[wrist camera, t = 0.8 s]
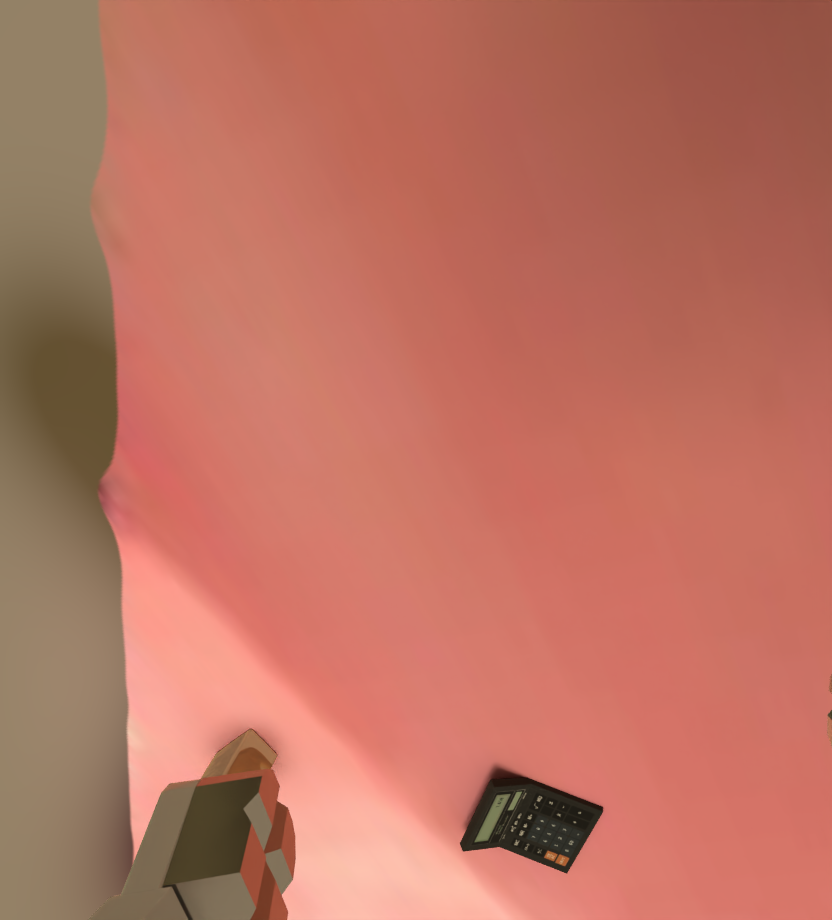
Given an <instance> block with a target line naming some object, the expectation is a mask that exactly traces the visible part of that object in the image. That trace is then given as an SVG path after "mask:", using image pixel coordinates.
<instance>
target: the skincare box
mask: <svg viewBox="0 0 832 920" xmlns="http://www.w3.org/2000/svg"><path fill="white" fill-rule="evenodd" d="M276 757H277V754H276V753H275V752H274V751H273V750H272V749H271V748H270V747H269V746H268V745H267V744H266V743H265V742H264V741H263V740H262V739H261V738H260V737H259V736H258V735H257V734H256V733H255V732H254V731H253V730H252V729H250V730H248V731H247V732H245V733H244V734H242V735H241V736H239V737H238V738H236V739H235V740H234V741H232V742H231V743H229V744H228V745H227V746H225V747H224V748H223V749H222V750H220V751H219V752H218V753H216V755H215V756H214V758H213V760H212V761H211V763H210V764H209V766H208V768H207V769H206V771H205V773H204V774H203V776H202V777H201V779H202V778H207V777H214V776H220V775H227V774H234V773H241V772H248V771H254V770H261V769H271V767H272V765H273V763H274V761H275V759H276Z"/></svg>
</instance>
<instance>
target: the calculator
mask: <svg viewBox="0 0 832 920" xmlns="http://www.w3.org/2000/svg"><path fill="white" fill-rule="evenodd" d="M602 813H603V807H601V806H599V805H596V804H593V803H591V802H588V801H586V800H583V799H581V798H578V797H575V796H573V795H570V794H568V793H565V792H563V791H560V790H557V789H555V788H552V787H550V786H547V785H545V784H542V783H539V782H537V781H534V780H532V779H529V778H510V779H492V780H490V782H489V784H488V786H487V788H486V791H485V793H484V795H483V797H482V799H481V801H480V803H479V805H478V807H477V809H476V811H475V813H474V815H473V818H472V820H471V822H470V824H469V826H468V828H467V830H466V832H465V834H464V836H463V838H462V840H461V842H460V845H461V848H462V850H463V851H471V850H479V849H487V848H494V847H501V848H504V849H506V850H509V851H511V852H514V853H516V854H519V855H521V856H524V857H526V858H529V859H531V860H534V861H536V862H539V863H542V864H544V865H547V866H549V867H552V868H554V869H557V870H559V871H562V872H564V873H567V872H568V871H569V869H570V867H571V865H572V864H573V862H574V860H575V859H576V857H577V855H578V854H579V852H580V850H581V848H582V847H583V845H584V843H585V842H586V840H587V838H588V837H589V835H590V833H591V831H592V830H593V828H594V826H595V825H596V823H597V821H598V819H599V818H600V816H601V814H602Z"/></svg>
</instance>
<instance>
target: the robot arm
mask: <svg viewBox="0 0 832 920" xmlns="http://www.w3.org/2000/svg"><path fill="white" fill-rule="evenodd" d="M829 691H830V692H831V693H832V675H831V676H830V686H829ZM827 734H828V738H829V741H830V744H831V747H832V710H831V711H830V713H829V714H828V715H827ZM279 787H280V786H279V783H278V781H277V779H276V776H275V774H274V772H273V770H271V769H261V770H254V771H248V772H241V773H234V774H227V775H220V776H214V777H207V778H202V779H198V780H191V781H184V782H178V783H171V784H169V785H168V786H167V787H166V788H165V789H164V790H163V792H162V793H161V795H160V797H159V800H158V802H157V805H156V807H155V810H154V812H153V815H152V817H151V820H150V822H149V825H148V827H147V830H146V833H145V835H144V838H143V840H142V843H141V845H140V848H139V850H138V853H137V855H136V858H135V860H134V863H133V865H132V868H131V871H130V873H129V876H128V878H127V881H126V883H125V886H124V888H123V891H122V893H121V895H117V896H112V897H110V898H109V899H108V900H107V901H106V902H105V903H104V904H103V905H102V906H101V907H100V908H99V909H98V910H97V911H96V912H95V913H94V914H93V915H92V916H91V917H90V919H89V920H287V916H288V910H287V908H286V905H285V903H284V900H283V898H282V894H283V892H284V891H285V889H286V888H287V887H288V885H289V884H290V883H291V881H292V880H293V875H294V867H295V859H296V856H295V833H294V827H293V822H292V818H291V815H290V813H289V810H288V808H287V807H286V806H284V805H283V804H281V803H279V802H278V801H277V798H278V792H279Z"/></svg>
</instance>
